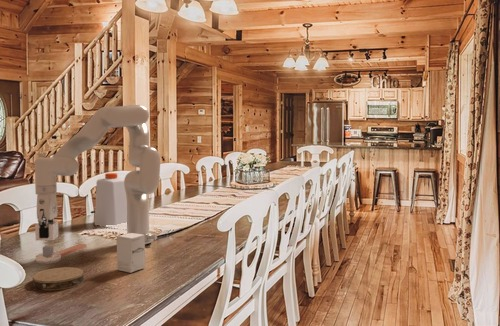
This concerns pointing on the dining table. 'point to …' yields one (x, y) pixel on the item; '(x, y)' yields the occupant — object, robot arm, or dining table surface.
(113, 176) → the plastic bottle
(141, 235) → the supplement box
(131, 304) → the dining table surface
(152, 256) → the dining table surface
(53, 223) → the white cube
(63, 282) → the tambourine
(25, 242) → the dining table surface
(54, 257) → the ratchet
